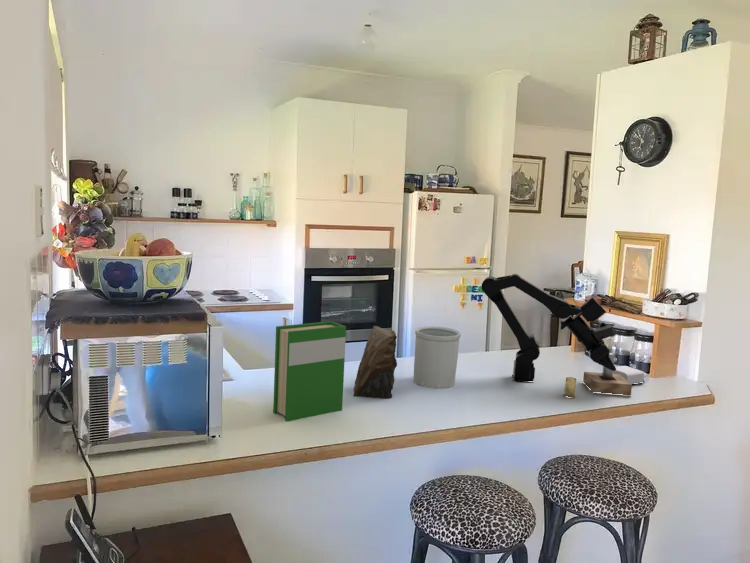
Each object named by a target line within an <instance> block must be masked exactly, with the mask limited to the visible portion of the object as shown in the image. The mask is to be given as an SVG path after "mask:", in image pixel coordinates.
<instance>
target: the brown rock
mask: <svg viewBox="0 0 750 563" xmlns="http://www.w3.org/2000/svg"><path fill="white" fill-rule="evenodd" d="M396 348H397V333H396V332H395V330H391V329H386V328H385V329H384V328H382V327H380V326H377V325H373V326H372V329H371V332H370V335H369V336H368V339H367V341H366V345H365V348H364V350H363V354H362V357H361V361H360V362H359V365H358V370H357V372H356V373H357V374H356V377H355V378H356V379H355V380H354V385H353V386H354V387H353V398H354V397H356V398H357V397H358V398H371V399H383V400H387V399H388V400H389V399H393V393H392V390H393V388H394V385H395V384H394V383H395V370H396V368H397V367H398V362H397V361H398V360H397V358H396Z"/></svg>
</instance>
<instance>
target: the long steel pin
mask: <svg viewBox="0 0 750 563" xmlns="http://www.w3.org/2000/svg"><path fill="white" fill-rule="evenodd" d="M615 356H616V354H615V352H612V351H610V353H609V358H610V359H611V361H612V363H613V364H614V365H615ZM601 373H602V380H612V376H613V371H612V370H610V369H608V368H606V367H604V366H602V372H601Z"/></svg>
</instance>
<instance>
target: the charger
mask: <svg viewBox="0 0 750 563" xmlns="http://www.w3.org/2000/svg"><path fill="white" fill-rule="evenodd" d="M615 368H616V370H615V371H613V374H620V375H621V376H622V377H623V378H625V379H626V380H627V381H628V382H629V383H631V384H634V383H640V382H643V383H644V381H645V380H644V379H645V378H646V377H647V376H648V375H647V373H646V372H644V371H643V370H639V369H637V368H634V367H630V366H627V365H621V366H620V365H619V366H615Z"/></svg>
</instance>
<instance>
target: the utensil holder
mask: <svg viewBox="0 0 750 563" xmlns="http://www.w3.org/2000/svg"><path fill="white" fill-rule="evenodd" d="M414 333H415V346H414V347H415V348H414V362H413V382H414V383H415V384H417V385H419V386H421V387H425V388H430V389H449V388H451V387H453V386H455V382H456V375H457V374H456V373H457V366H458V358H459V355H458V354H459V345H460V339H461V332H460V331H459V330H456V329H453V328H450V327H443V326H435V325H433V326H430V325H429V326H428V325H427V326H420V327H416V328H415V332H414Z"/></svg>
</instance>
